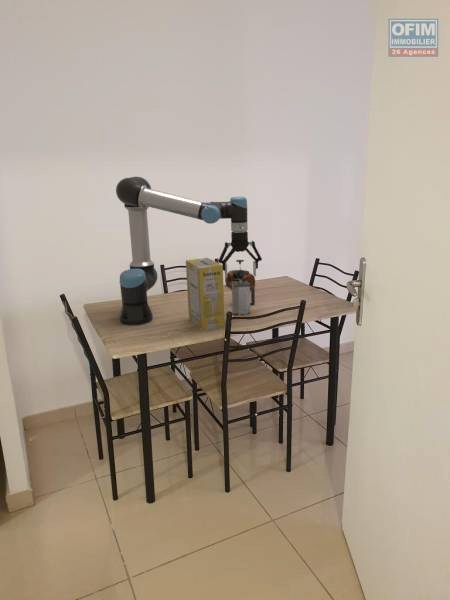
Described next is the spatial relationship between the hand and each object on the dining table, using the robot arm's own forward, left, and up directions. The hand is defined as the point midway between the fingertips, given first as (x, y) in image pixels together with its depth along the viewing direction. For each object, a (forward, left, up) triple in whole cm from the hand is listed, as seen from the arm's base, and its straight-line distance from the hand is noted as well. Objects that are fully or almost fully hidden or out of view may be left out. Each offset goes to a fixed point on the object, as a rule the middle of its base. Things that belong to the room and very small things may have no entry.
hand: (240, 276), depth 219 cm
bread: (+7, +45, -18) cm, 49 cm away
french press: (+2, +14, -18) cm, 23 cm away
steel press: (+1, 0, -18) cm, 18 cm away
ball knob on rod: (0, 0, -12) cm, 12 cm away
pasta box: (-18, -10, -18) cm, 27 cm away
